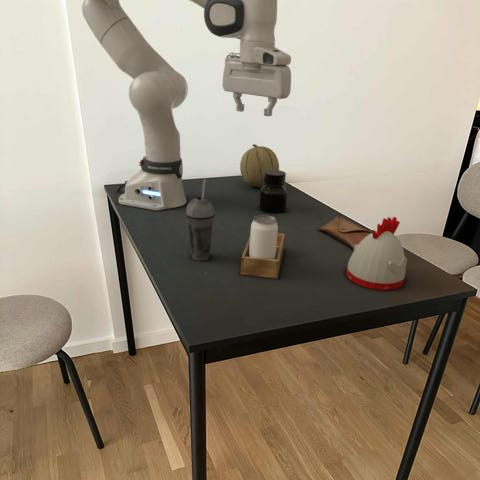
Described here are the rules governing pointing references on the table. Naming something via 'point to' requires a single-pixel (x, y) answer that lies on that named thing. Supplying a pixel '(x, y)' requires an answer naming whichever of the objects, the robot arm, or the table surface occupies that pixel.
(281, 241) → the organizer
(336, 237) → the sunglasses case
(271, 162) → the cantaloupe
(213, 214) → the beverage cup
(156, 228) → the table surface
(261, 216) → the can
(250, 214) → the table surface
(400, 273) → the kitchen timer
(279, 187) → the ink bottle
